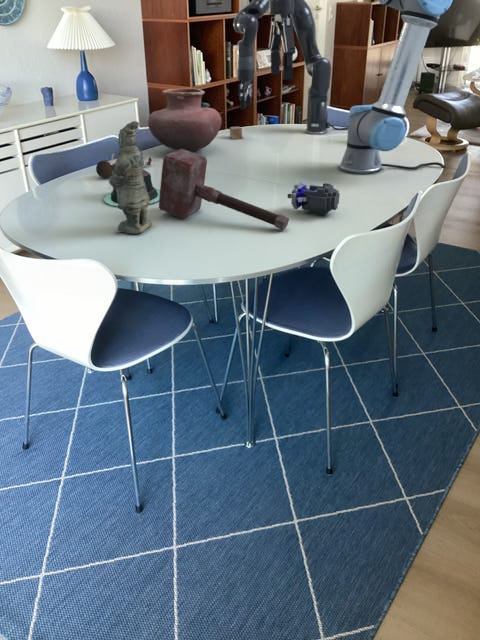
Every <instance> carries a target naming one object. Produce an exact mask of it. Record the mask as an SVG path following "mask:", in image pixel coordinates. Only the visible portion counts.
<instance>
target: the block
mask: <svg viewBox="0 0 480 640" xmlns="http://www.w3.org/2000/svg"><path fill="white" fill-rule="evenodd" d="M229 138H230V139H231V140H240V139H243V128H242V127H241V126H231V127H229Z"/></svg>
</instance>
